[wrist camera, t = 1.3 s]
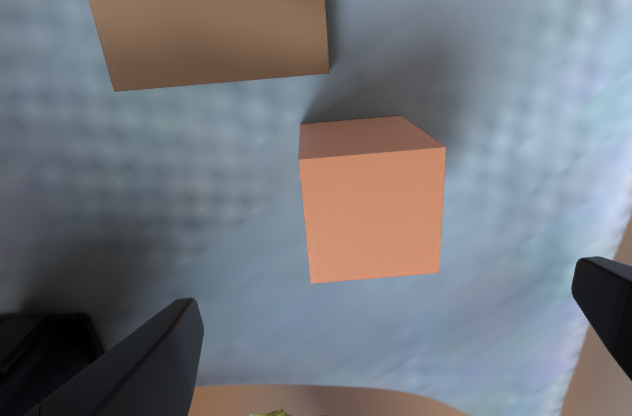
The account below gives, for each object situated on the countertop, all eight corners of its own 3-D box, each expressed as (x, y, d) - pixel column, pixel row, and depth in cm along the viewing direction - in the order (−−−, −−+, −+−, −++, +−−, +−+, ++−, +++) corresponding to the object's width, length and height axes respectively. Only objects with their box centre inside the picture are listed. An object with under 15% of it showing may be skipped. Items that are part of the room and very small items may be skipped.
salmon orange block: (400, 208, 21) (438, 272, 15) (308, 216, 21) (311, 283, 15) (401, 115, 19) (446, 147, 13) (300, 124, 19) (298, 159, 13)
